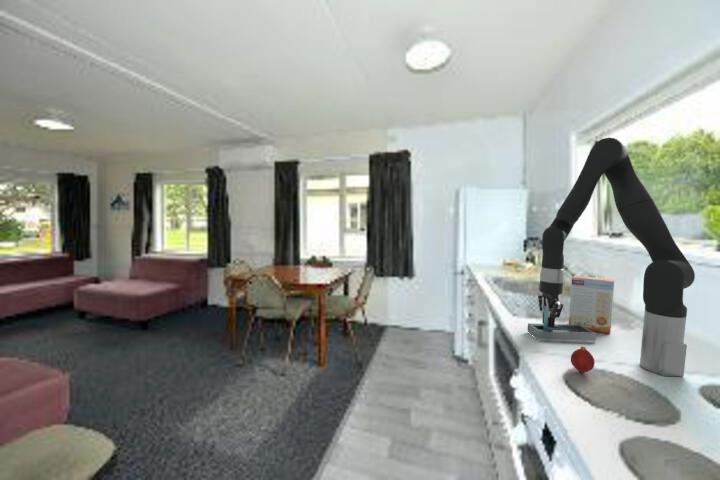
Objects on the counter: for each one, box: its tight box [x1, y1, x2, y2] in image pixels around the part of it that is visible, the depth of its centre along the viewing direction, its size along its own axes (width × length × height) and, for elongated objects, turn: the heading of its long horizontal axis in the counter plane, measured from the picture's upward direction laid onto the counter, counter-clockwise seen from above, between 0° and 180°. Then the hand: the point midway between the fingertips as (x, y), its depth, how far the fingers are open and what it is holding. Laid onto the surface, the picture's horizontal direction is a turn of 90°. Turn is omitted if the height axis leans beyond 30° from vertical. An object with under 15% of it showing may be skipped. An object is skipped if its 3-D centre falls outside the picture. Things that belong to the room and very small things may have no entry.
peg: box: [539, 306, 553, 330], centre depth 127 cm, size 6×6×10 cm
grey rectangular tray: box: [527, 323, 597, 344], centre depth 127 cm, size 9×20×4 cm, turn 88°
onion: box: [570, 346, 595, 374], centre depth 98 cm, size 6×6×8 cm
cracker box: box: [568, 275, 615, 335], centre depth 137 cm, size 14×6×21 cm, turn 52°
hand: (548, 325), depth 127 cm, fingers closed on peg, 3 cm apart
